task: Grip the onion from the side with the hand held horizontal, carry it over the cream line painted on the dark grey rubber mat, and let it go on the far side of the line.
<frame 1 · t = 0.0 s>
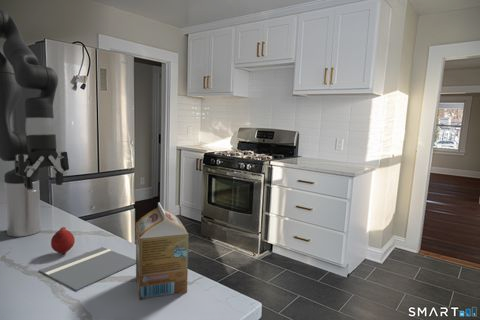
hand: (44, 187, 95), 17 cm above the counter, tool pointing down, fingers open, 8 cm apart
milk carton: (160, 285, 75), on the counter
onion: (63, 254, 89), on the counter
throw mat: (91, 266, 83), on the counter
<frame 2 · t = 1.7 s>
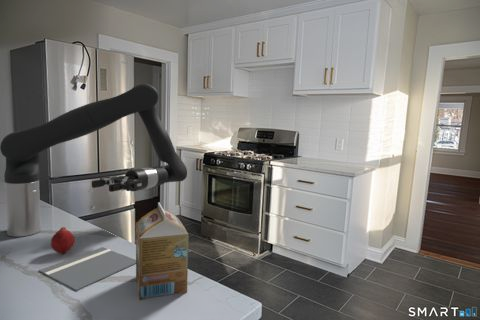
hand: (100, 186, 97), 18 cm above the counter, tool horizontal, fingers open, 8 cm apart
nothing on the counter moved.
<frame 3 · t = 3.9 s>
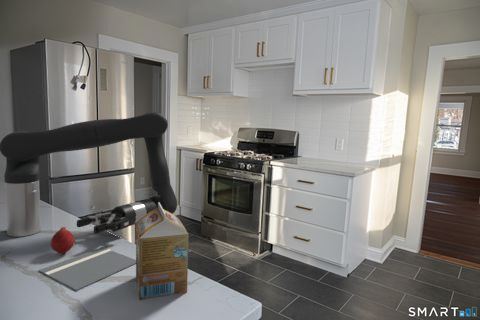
hand: (85, 227, 94), 6 cm above the counter, tool horizontal, fingers open, 8 cm apart
nothing on the counter moved.
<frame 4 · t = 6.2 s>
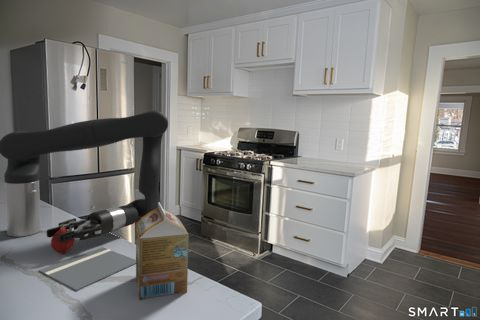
hand: (53, 236, 86), 6 cm above the counter, tool horizontal, fingers closed on onion, 5 cm apart
onion: (63, 254, 89), on the counter, touching gripper
everything else where it was.
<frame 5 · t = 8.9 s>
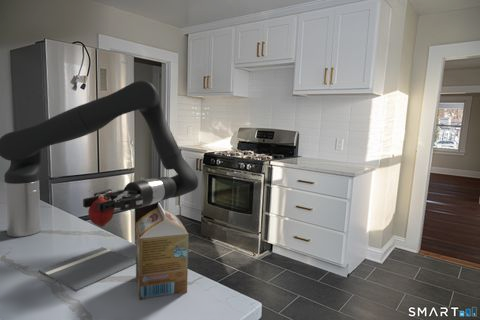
hand: (91, 205, 76), 18 cm above the counter, tool horizontal, fingers closed on onion, 5 cm apart
onion: (101, 227, 79), point 11 cm above the counter, touching gripper
everything else where it was.
when the fingers open (7 cm above the counter, at t = 11.7 s): onion drops 1 cm, resting on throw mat.
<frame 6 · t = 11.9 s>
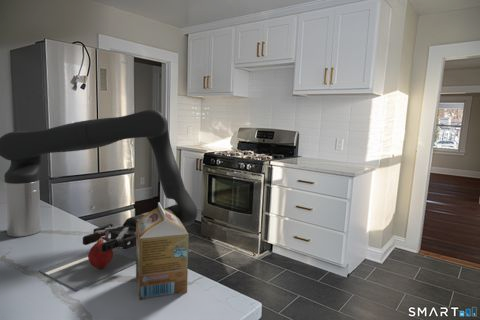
hand: (92, 244, 78), 8 cm above the counter, tool horizontal, fingers open, 6 cm apart
onion: (101, 269, 81), resting on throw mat
everything else where it was.
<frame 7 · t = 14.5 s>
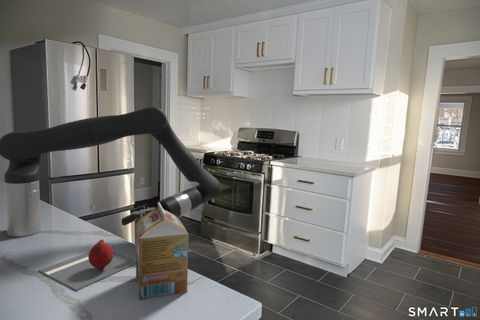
hand: (131, 227, 90), 8 cm above the counter, tool horizontal, fingers open, 8 cm apart
nothing on the counter moved.
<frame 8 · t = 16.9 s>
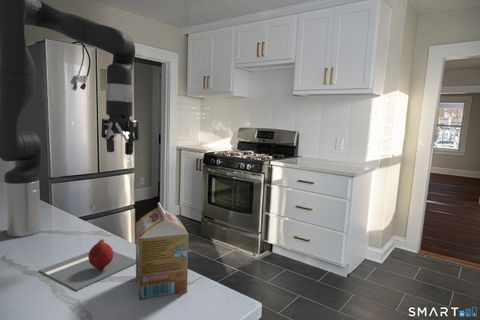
hand: (119, 153, 97), 28 cm above the counter, tool pointing down, fingers open, 8 cm apart
nothing on the counter moved.
at the end: onion inside the target area (0.2 cm from its centre), resting on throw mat; the gripper is holding nothing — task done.
